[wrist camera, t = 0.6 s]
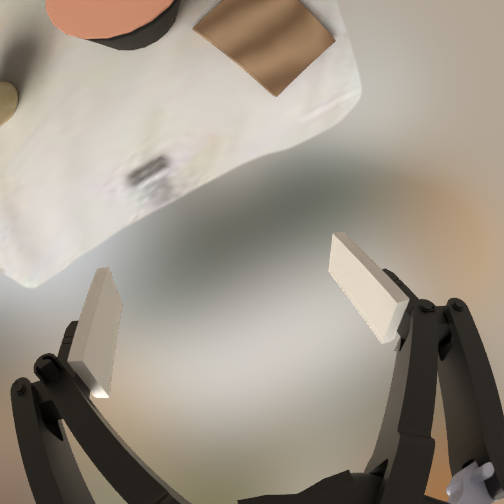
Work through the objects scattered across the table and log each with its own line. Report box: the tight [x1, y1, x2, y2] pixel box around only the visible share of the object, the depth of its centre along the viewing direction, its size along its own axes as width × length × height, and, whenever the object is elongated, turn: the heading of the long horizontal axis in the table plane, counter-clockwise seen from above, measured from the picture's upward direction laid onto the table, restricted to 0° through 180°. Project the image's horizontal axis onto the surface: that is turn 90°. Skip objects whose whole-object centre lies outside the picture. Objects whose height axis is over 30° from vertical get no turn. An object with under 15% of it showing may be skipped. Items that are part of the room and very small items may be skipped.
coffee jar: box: [46, 0, 181, 50], centre depth 16 cm, size 11×11×18 cm
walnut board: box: [193, 0, 336, 97], centre depth 29 cm, size 15×13×2 cm
